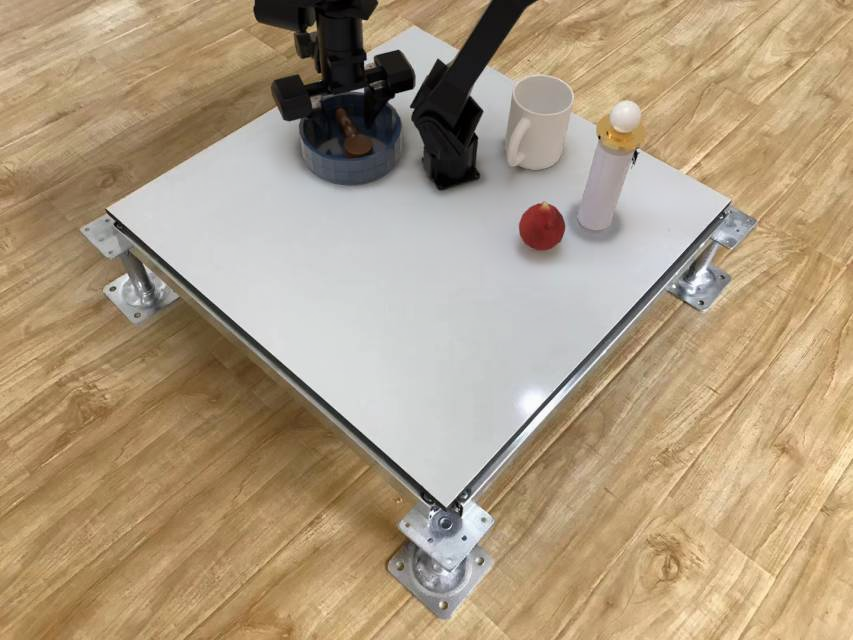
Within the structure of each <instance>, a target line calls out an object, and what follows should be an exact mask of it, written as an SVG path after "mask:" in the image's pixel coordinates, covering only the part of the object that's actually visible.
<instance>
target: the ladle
mask: <svg viewBox="0 0 853 640" xmlns="http://www.w3.org/2000/svg"><path fill="white" fill-rule="evenodd" d="M335 117H336V121H337V128H338V130H339V132H340V133H343V132H344V134H345V136H346V138H347V139H346V140H345V141H344V154H345V159H353V158H362V157H366V156H370V155H373V142H372V140H371V139H370V138H369V137H368V136H366V135H362V134H359V133H358V131H357V129H356V128H355V126H354V124H353V122H352V120H351V118H350V116H349V115H348V113H347V111H346V110H345V109H343V108H340V109H338V110H337V111H336V113H335Z"/></svg>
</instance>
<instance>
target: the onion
mask: <svg viewBox="0 0 853 640" xmlns="http://www.w3.org/2000/svg"><path fill="white" fill-rule="evenodd" d="M518 231H519V236H520V238H521V239H522V241H523V243H524V244H525V245H526V246H527V247H529V248H530V249H532V250H535V251H539V252H540V251H543V252H545V251H548V250H552V249H553V248H555V247H556V246H557V245H559V244H560V243H561V242H562V240H563V238H564V235H565V232H566V222H565V219H564V215H563V214H562V213H561V212H560V211H559V209H558V208H557V207H556V206H555V205H553V204H550V203H547V201H542V202H541V203H540V202H538V203H536V204H533V205H532V206H529V208H527V209H526V210H525V211H524V213H522V216H521V218H520V221H519V223H518Z"/></svg>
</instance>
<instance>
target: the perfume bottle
mask: <svg viewBox="0 0 853 640" xmlns="http://www.w3.org/2000/svg"><path fill="white" fill-rule="evenodd" d="M642 116H643V115H642V110H641V108H640V106H639V104H637V103H636V102H634V101H632V100H628V99H627V100H626V99H624V100H620V101H618V102H617V103H616V104H614V105H613V107H611V110H610V112H609V114H607V115H604V116H603V117H601V118H600V119H599V120H598V121H597V125H596V128H595V134H596V137H597V144H596V147H595V150H594V153H593V158H592V161H591V164H590V168H589V171H588V176H587V178H586V182H585V185H584V189H583V193H582V197H581V201H580V203H579V208H578V211H577V215H576V216H577V220H578V223H579V224H580V225H581V226H582V227H584V228H586V229H588V230H590V231H602V230H605V229H607V228H608V227H609V226H610V225H611V224H612V220H613V218H614V215H615V211H616V208H617V205H618V203H619V199H620V196H621V193H622V191H623V187H624V185H625V182H626V179H627V176H628V173H629V170H630V169H631V170H632V169H633V166H635V165H636V162H637V160H638V156H639V154H640V153H641V152H639V151H638V149H640V148H641V146H642V145H643V143H644V142H645V139H646V135H647V131H646V128H645V126H644V125H643V123H642V122H641V121H642V118H643V117H642ZM631 164H632V165H631ZM630 167H631V168H630Z"/></svg>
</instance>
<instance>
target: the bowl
mask: <svg viewBox="0 0 853 640" xmlns="http://www.w3.org/2000/svg"><path fill="white" fill-rule="evenodd" d="M321 102H322V104H323V106H324V108H325V110H326V112H327V114H328V120H329V125H330V131H331V139H330V140H328V139H327V137H326V136H325V134H324V132H323V130H322V128H321V127H320V126H319V125H318V124H317V122H316V121H315V120H306V119H305V118H301V119H299V122H298V134H299V141H300V147H301V148H300V149H301V155H302V158H303V161H304V163H305V165H306V167H307V168H308V169H309V170H310V171H311V172H312V173H313V174H314V175H316V176H317V177H319V178H320V179H322V180H324V181H326V182H329V183H333V184H336V185H343V186H358V185H359V186H360V185H365V184H369V183H371V182H375V181H378V180H380V179H382V178H384V177H385V176H386V175H388V174H389V173H391V172H392V170H394V168H395V167H396V166H397V164H398V163H399V161H400V159H401V155H402V150H403V149H402V148H403V125H402V118H401V116H400V113H398V111H397V109H396V108H395V107H394V106H393V105H392V104H390V102H389V101H388V102H387V104H386V105H385V106H384V108H383V109H382V110H381V111H380V113H379V114H378V116H377V118H376V119H375V121H374V123H373V124H372V126H371V128H370V129H366V127H365V124H364V91H363V92H361V91H351V92H347V93H343V94H339V95H335V96H331V97H327V98H323V99H322V101H321ZM340 108H343V109H345V110H346V111H347V113H348V115H349V116H350V118H351V120H352V122H353V124H354V126H355V128H356V129H357V131H358V133H359V134H362V135H366V136H368V137H369V138H370V139H371V140H372V142H373V155H370V156H366V157H362V158H353V159H345V154H344V141H345V140H346V139H347V138H346V136H345V134H344V132H343V133H340V132H339V130H338V128H337V121H336V117H335V113H336V111H337V110H338V109H340Z"/></svg>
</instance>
